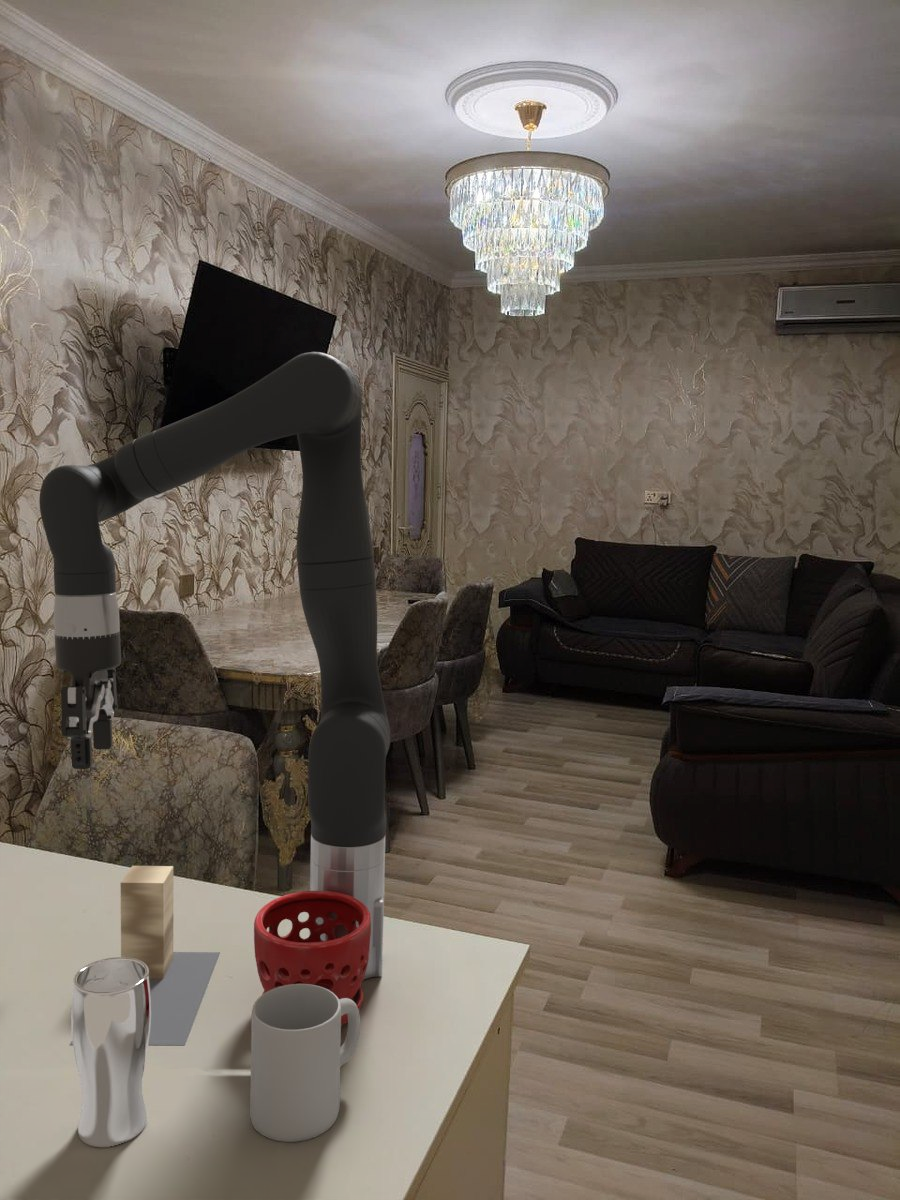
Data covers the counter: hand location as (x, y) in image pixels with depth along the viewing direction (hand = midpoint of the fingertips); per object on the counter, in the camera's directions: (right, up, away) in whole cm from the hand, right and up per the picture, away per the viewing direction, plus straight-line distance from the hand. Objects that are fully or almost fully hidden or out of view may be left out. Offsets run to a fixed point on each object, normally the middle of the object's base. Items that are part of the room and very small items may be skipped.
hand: (93, 757), depth 119 cm
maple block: (+8, -25, -2) cm, 27 cm away
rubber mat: (+10, -27, -8) cm, 30 cm away
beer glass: (+13, -30, -30) cm, 44 cm away
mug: (+31, -30, -26) cm, 50 cm away
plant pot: (+29, -28, -10) cm, 41 cm away
